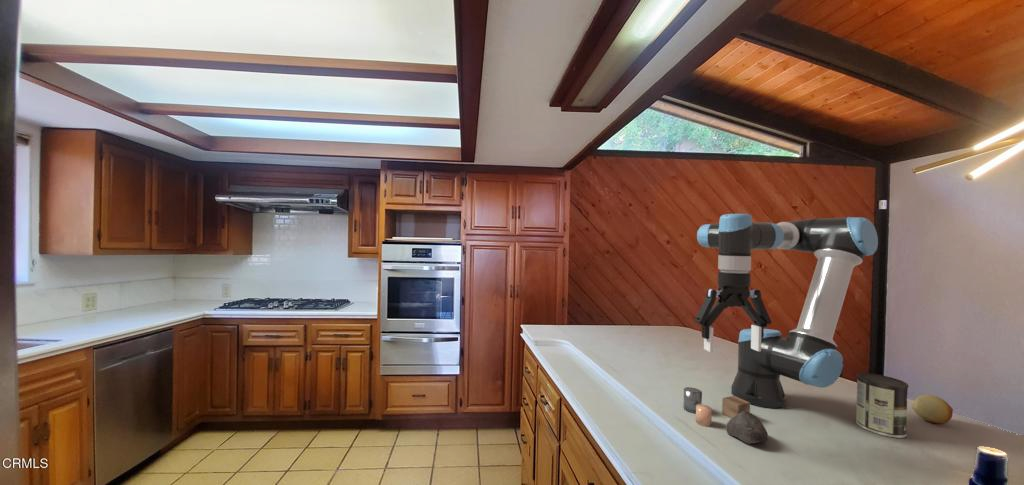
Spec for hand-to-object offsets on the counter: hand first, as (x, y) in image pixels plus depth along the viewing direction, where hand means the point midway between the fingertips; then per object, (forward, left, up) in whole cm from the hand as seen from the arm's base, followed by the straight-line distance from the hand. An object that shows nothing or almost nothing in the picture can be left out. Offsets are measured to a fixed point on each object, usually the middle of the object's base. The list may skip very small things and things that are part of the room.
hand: (732, 350), depth 98 cm
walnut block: (-8, -10, -23) cm, 27 cm away
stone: (-4, +2, -23) cm, 24 cm away
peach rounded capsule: (+4, -6, -23) cm, 24 cm away
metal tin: (+3, -14, -23) cm, 27 cm away
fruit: (-66, -8, -23) cm, 71 cm away
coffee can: (-46, -4, -23) cm, 52 cm away
